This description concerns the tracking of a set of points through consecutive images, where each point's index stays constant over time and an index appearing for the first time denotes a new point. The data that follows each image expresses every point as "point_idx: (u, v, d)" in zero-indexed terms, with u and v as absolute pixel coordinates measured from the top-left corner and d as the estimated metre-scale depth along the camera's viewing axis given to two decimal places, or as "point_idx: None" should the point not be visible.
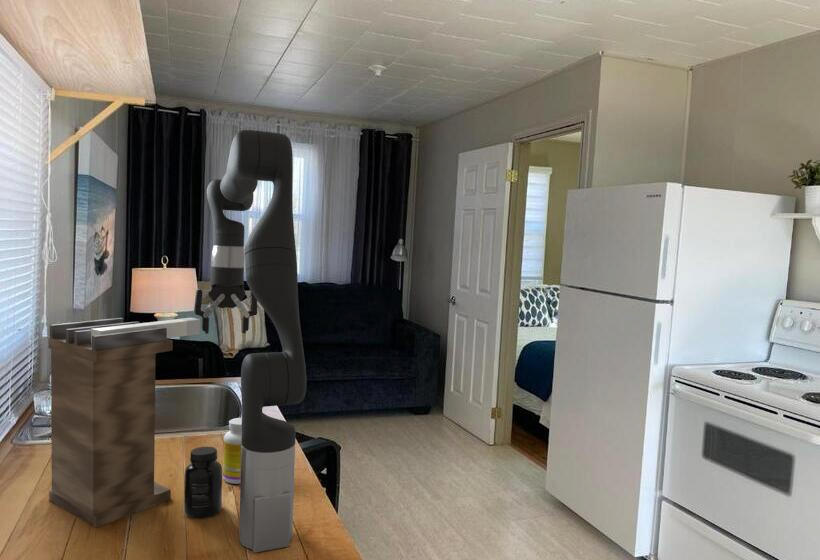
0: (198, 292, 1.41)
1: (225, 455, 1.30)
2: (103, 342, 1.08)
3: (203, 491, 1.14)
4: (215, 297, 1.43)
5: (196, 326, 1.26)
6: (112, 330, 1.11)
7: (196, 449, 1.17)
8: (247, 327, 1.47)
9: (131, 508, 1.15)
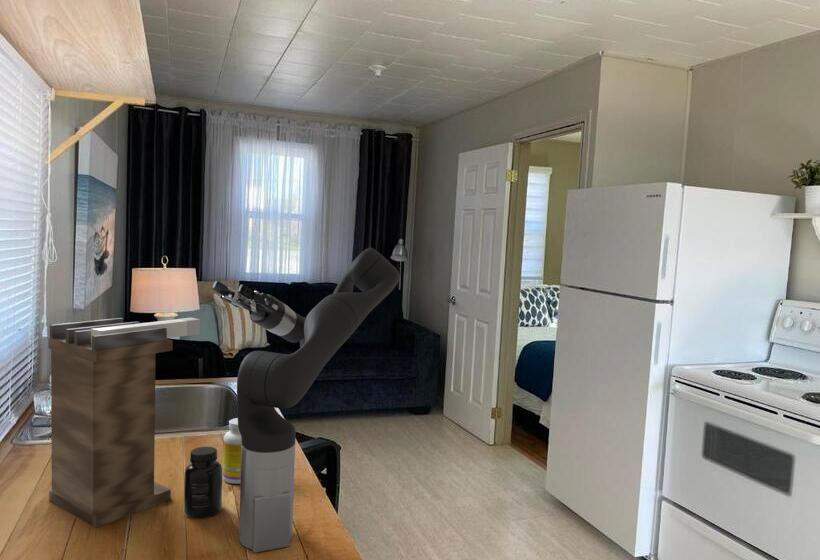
0: None
1: (225, 455, 1.30)
2: (103, 342, 1.08)
3: (203, 491, 1.14)
4: None
5: (196, 326, 1.26)
6: (112, 330, 1.11)
7: (196, 449, 1.17)
8: None
9: (131, 508, 1.15)
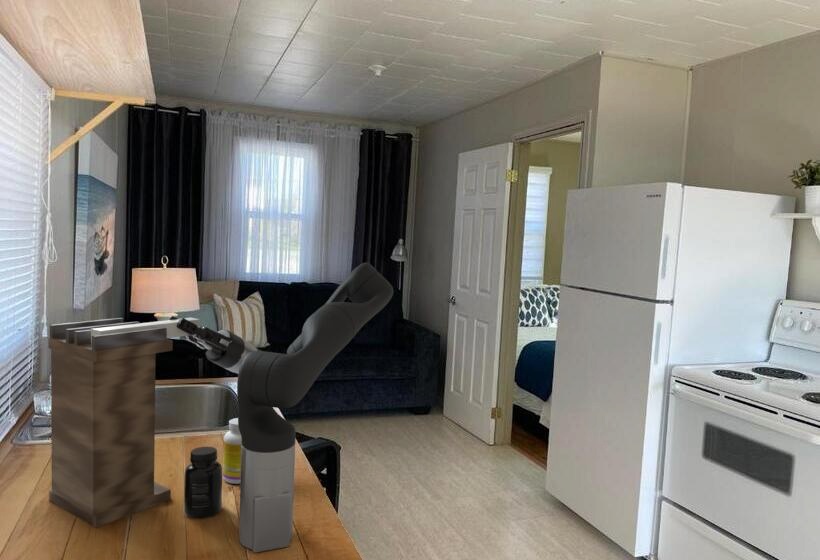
0: None
1: (225, 455, 1.30)
2: (103, 342, 1.08)
3: (203, 491, 1.14)
4: None
5: None
6: (112, 330, 1.11)
7: (196, 449, 1.17)
8: None
9: (131, 508, 1.15)
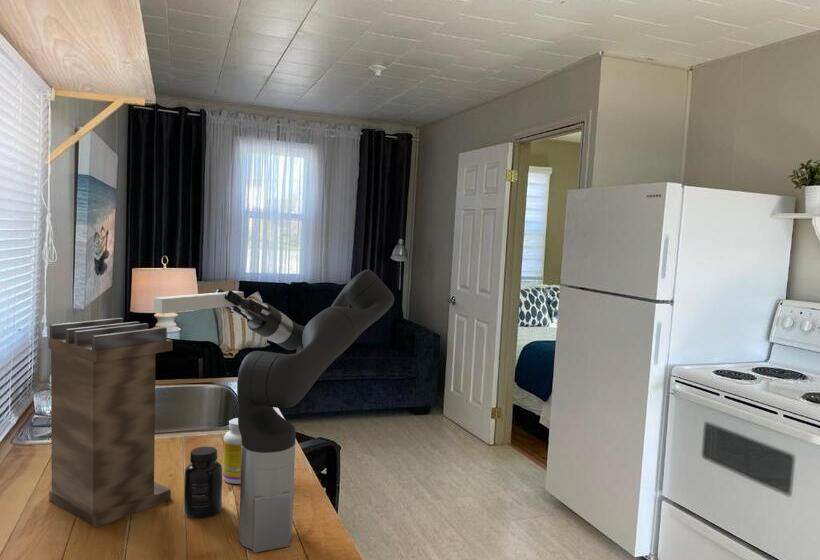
0: None
1: (225, 455, 1.30)
2: (103, 342, 1.08)
3: (203, 491, 1.14)
4: None
5: None
6: (172, 299, 1.28)
7: (196, 449, 1.17)
8: None
9: (131, 508, 1.15)
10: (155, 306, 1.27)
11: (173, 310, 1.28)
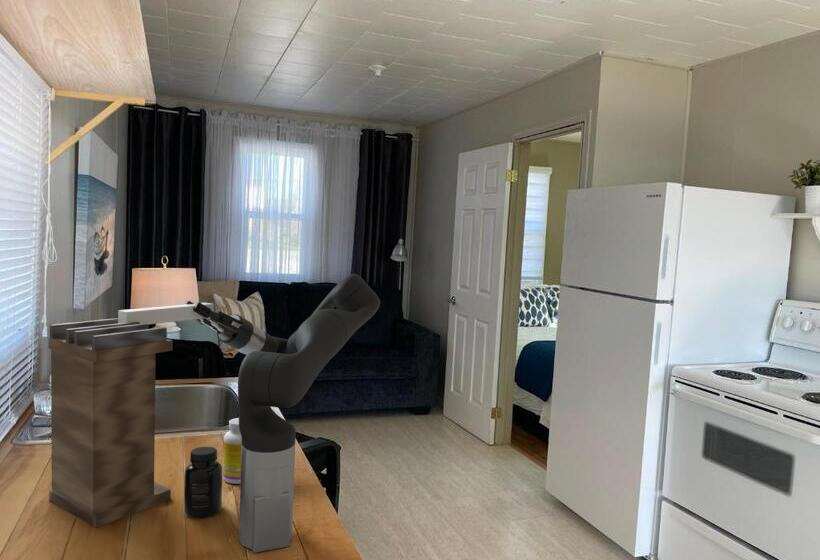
0: None
1: (225, 455, 1.30)
2: (103, 342, 1.08)
3: (203, 491, 1.14)
4: None
5: None
6: (137, 311, 1.25)
7: (196, 449, 1.17)
8: None
9: (131, 508, 1.15)
10: (120, 319, 1.24)
11: None
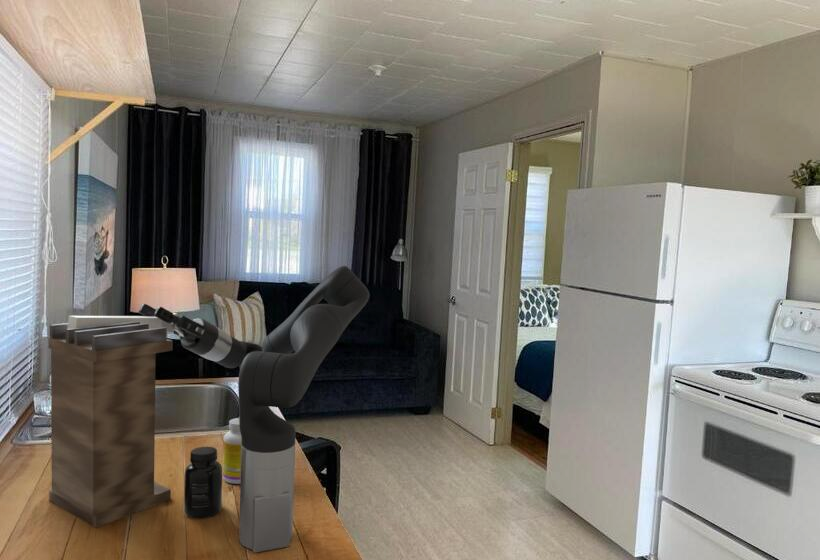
0: None
1: (225, 455, 1.30)
2: (103, 342, 1.08)
3: (203, 491, 1.14)
4: None
5: None
6: (88, 318, 1.17)
7: (196, 449, 1.17)
8: None
9: (131, 508, 1.15)
10: (69, 325, 1.16)
11: None
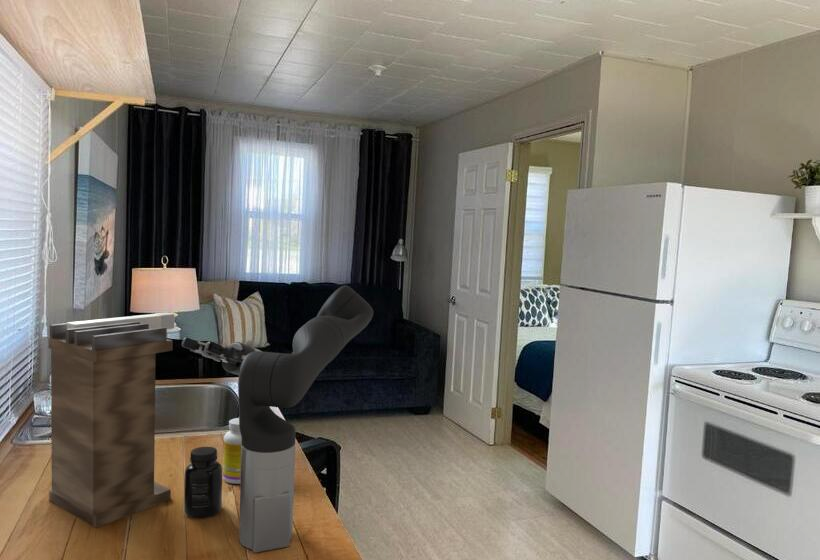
0: None
1: (225, 455, 1.30)
2: (103, 342, 1.08)
3: (203, 491, 1.14)
4: None
5: (170, 321, 1.31)
6: (87, 324, 1.16)
7: (196, 449, 1.17)
8: (215, 345, 1.37)
9: (131, 508, 1.15)
10: None
11: None
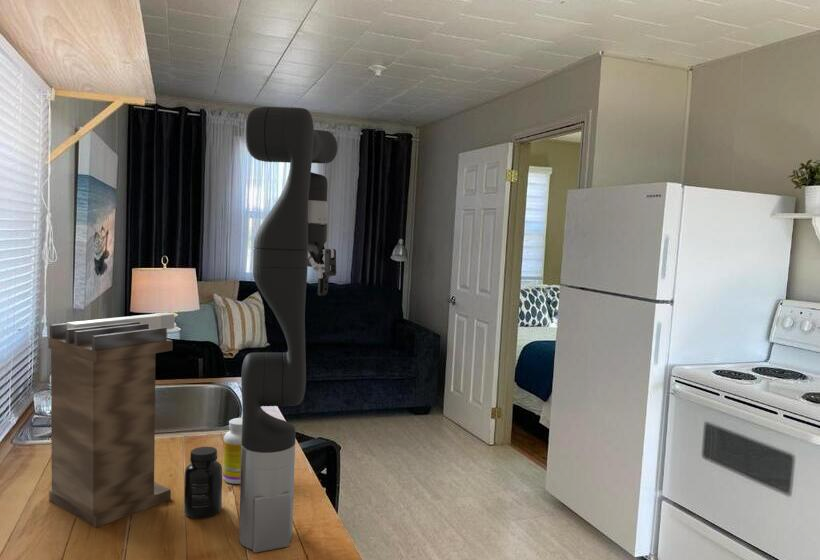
0: None
1: (225, 455, 1.30)
2: (103, 342, 1.08)
3: (203, 491, 1.14)
4: None
5: (170, 321, 1.31)
6: (87, 324, 1.16)
7: (196, 449, 1.17)
8: (322, 289, 1.35)
9: (131, 508, 1.15)
10: None
11: None
